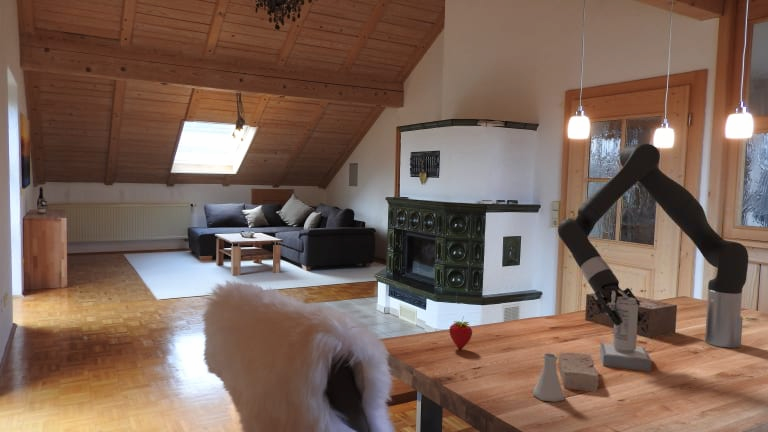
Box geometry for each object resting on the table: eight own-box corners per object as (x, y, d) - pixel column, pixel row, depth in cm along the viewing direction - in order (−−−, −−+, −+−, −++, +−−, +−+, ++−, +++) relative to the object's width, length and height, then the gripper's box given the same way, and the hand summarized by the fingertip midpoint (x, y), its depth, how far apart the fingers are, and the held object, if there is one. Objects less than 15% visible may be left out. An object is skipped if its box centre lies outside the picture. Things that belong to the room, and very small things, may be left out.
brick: (599, 393, 130) (600, 374, 130) (562, 389, 132) (563, 370, 132) (590, 370, 146) (590, 353, 146) (557, 367, 148) (558, 350, 148)
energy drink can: (640, 353, 151) (643, 300, 150) (622, 354, 149) (624, 301, 148) (626, 346, 156) (628, 295, 155) (608, 347, 155) (610, 296, 154)
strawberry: (457, 344, 166) (458, 312, 166) (476, 350, 160) (477, 317, 160) (444, 347, 162) (445, 315, 162) (463, 354, 157) (464, 320, 156)
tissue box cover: (585, 320, 199) (586, 294, 199) (610, 316, 207) (611, 290, 206) (649, 339, 177) (651, 309, 176) (675, 333, 184) (677, 304, 184)
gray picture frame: (644, 357, 157) (644, 347, 156) (650, 371, 145) (651, 359, 145) (600, 352, 160) (600, 342, 160) (603, 365, 149) (603, 354, 149)
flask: (528, 390, 130) (529, 350, 129) (557, 390, 131) (558, 350, 130) (539, 403, 123) (541, 360, 122) (569, 402, 123) (571, 360, 123)
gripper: (589, 269, 155) (621, 318, 145) (623, 266, 161) (656, 313, 152) (574, 284, 160) (604, 332, 150) (608, 281, 166) (638, 326, 157)
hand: (630, 322), depth 151 cm, fingers open, 8 cm apart
